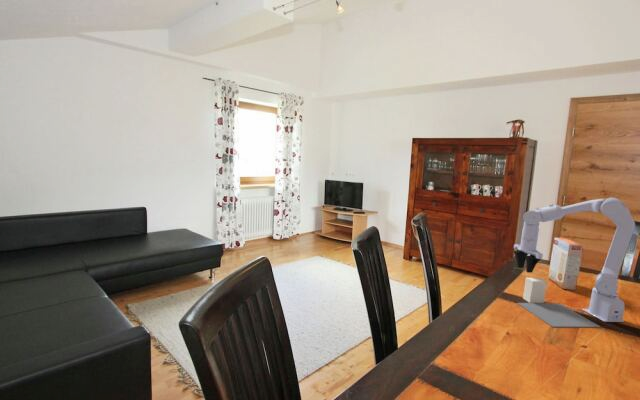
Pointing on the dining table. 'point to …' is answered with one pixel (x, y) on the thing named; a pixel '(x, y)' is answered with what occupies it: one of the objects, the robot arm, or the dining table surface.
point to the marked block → (534, 290)
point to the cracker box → (565, 263)
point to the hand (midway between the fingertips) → (524, 269)
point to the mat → (557, 315)
